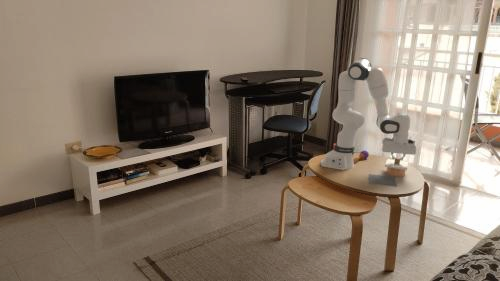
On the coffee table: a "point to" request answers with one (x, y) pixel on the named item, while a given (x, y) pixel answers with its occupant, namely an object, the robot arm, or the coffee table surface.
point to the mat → (382, 180)
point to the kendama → (361, 156)
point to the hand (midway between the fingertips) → (397, 159)
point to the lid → (396, 164)
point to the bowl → (395, 171)
